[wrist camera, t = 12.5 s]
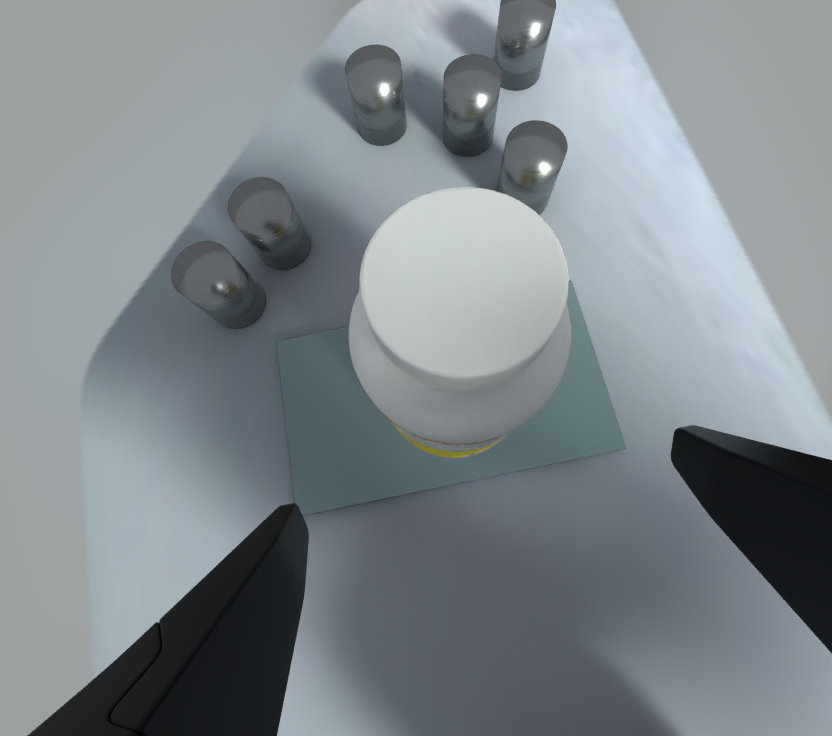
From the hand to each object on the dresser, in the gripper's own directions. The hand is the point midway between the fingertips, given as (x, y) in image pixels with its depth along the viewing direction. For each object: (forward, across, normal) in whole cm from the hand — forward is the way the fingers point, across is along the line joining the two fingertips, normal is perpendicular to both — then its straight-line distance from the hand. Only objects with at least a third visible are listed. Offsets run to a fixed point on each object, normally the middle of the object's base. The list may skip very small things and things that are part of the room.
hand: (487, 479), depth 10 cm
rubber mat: (+11, 0, -5) cm, 12 cm away
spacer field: (+21, -1, +5) cm, 21 cm away
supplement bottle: (+11, 0, -5) cm, 12 cm away
